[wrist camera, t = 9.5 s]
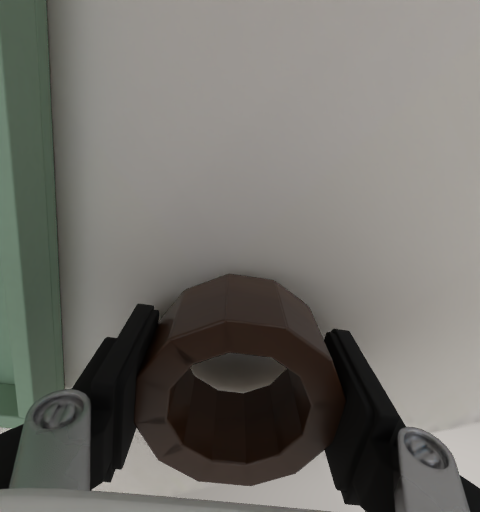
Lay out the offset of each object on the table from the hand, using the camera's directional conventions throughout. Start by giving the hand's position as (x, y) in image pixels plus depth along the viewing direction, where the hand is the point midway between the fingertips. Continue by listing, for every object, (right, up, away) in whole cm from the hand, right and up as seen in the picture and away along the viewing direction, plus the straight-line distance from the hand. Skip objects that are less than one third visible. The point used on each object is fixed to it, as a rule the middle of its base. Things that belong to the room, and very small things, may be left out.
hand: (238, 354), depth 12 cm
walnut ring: (0, 0, 0) cm, 0 cm away
